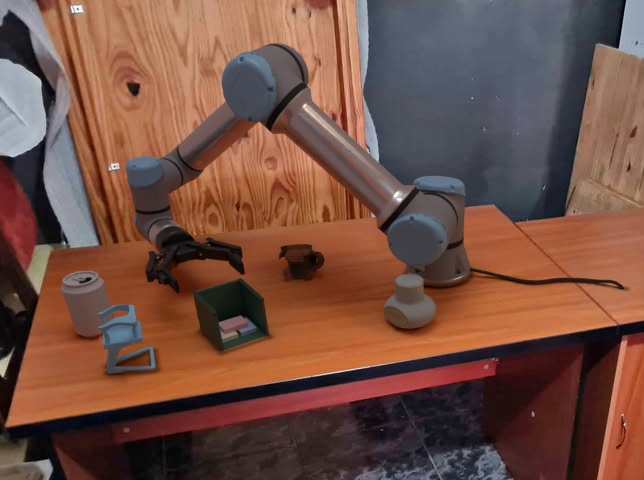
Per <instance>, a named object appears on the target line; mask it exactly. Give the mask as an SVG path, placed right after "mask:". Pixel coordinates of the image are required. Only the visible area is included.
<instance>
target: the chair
mask: <svg viewBox="0 0 644 480" xmlns="http://www.w3.org/2000/svg"><path fill="white" fill-rule="evenodd" d="M118 311H124V312H128V314H126V315H121V316H117V317H116V316H115V318H114V319H112V320H110V321H109V322H108V321H107V319H106V318H105V317H106V316H107V315H108V314H110V313H112V312H113V313H114V312H118ZM98 315H99V316H100V317H101V319H102V320H103V322H104V325H102V326H100V327H98V329H99V330H100V331H101V332H102V333H103V334H102V346H103V349H104V350H107V355H106V374H108V375H110V374H111V375H112V374H124V372H132V371H134V372H137V371H153V370H155V369H156V368H157V366H156V359H155V352H154V347H153V346H147V347H143V348H141V349H138V350H135V351H132V352H130V353H127V354H124V355H121V356H119V353H120V352H121V350H123V349H124V348H126V347H129V346H131V345H135V344H142V343H144V338H143V329H142V327H143V326H142V323H141V321H140V320H137V316H136V315H137V314H136V306H135V305H133V304H125V303H123V304H114V305H111V307H110V308H108V309H106V310H105V311H103V312H100V313H98ZM146 352H149V357H150V365H123V366H122V365H121V366H120V365H119V366H117V365H118V363H120V362H123V361H125V360H128V359H130V358H133V357H136V356H139V355H141V354H144V353H146Z"/></svg>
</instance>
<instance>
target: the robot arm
mask: <svg viewBox="0 0 644 480" xmlns="http://www.w3.org/2000/svg"><path fill="white" fill-rule="evenodd" d="M309 74H310V73H309V68H308V65H307V62H306V61H305V59H304V57H303V55H301V53H300V52H299V51H297V50H296V49H295V48H294V47H292V46H290V45H288V44H285V43H279V42H273V43H268V44H265V45H263V46H261V47H258V48H255V49H253V50H250V51H249V50H248V51H244V52H241V53H239V54H238V55H237V56H235V57H233V58H232V59H231V60H230V61H228V62H227V64H226V65H225V67H224V69H223V71H222V75H221V88H222V95H223V98H224V100H225V101H224V102H223V103H222V104H220V105H219V107H218V108H216V109H215V110H214V112H212V113H211V114H210V115H209V116H208V117H207V118H205V120H204V121H202V122H201V123H200V124H199V125H198V126H197V127H195V129H193V130H192V132H191V133H190V134H188V135H187V136H186V137H185V138H184V139H183V140H182V141H181V142H180V143H179V144H178V145H177V146H175V147H174V148H173V149H172V150H171V151H170V152H169V153H167V154H165V155H164V156H162V157H161V158H158V157H155V156H151V155H143V156H138V157H132V158H131V159H128V161H127V160H126V163H125V167H124V168H125V172H126V179H127V180H126V182H127V184H128V187H129V190H130V194H131V199H132V202H133V206H134V209H135V215H134V218H133V224H134V226H135V228H136V230H137V232H138V234H140V236H141V237H142V238H144V240H146V241H147V242H148V243H149V244H150V245H151V246H152V247H153V248H154V249H155V250H156V251H157V252H155V250H150V251H148V252H147V253H148V257H149V258H148V261H147V264H146V266H145V270H144V273H145V277H146V281H147V282H148V283H153V282H154V281H156V280H157V282H158V285H163V286H169V287H170V288H171V290H173V292H174V293H176V294H180V293H181V288H180V285H179V281H178V279H177V278H176V277H175V276H174V275H173V274H172V273H171V272H172V271H173V270H174V268H175V269H176V268H178V266H179V265H180V264H182V263H187V262H189V261H194V260H196V261H206V260H213V261H214V260H215V261H223V262H228V265H229V266H231V267H232V268H233V269H234V270H235V271H236V272H237V273H239V275H241V276H243V275H246V271H245V265H244V261H242V259H243V258H244V257H243V249H242V246H241V245H236V244H232V243H228V242H225V241H221V240H217V239H214V238H212V237H206V238H205V241H204V242H200V241H197V240H196V239H195V238H194V236H193V235H192V234H190V232H188V231H187V230H186V229H185V228H184V227H183V226H181V224H179V223H178V221H176V220H175V219H174V215H173V211H172V205H171V201H170V196H169V195H170V194H172V193H173V192H175V191H177V190H179V189H180V188H181V187H183V186H185V185H187V184H189V183H190V182H193V181H195V180H196V179H198V178H199V177H200V176H201V175H202V174H203V172H204V171H205V169H206V168H207V167H208V166H210V165H211V164H212V163H213V162H214V161H215V160H216V159H218V158H219V157H220V156H222V155H223V154H224V153H225V152H226V151H227V150H229V149H230V147H232V146H233V145H234V144H235V143H236V142H237V141H239V140H240V139H241V138H242V137H243V136H245V135H246V134H247V133H248V132H250V130H251V129H253V128H254V127H255V126H257V124H258V123H260V124H261V125H262V126H263V127H264V128H265V129H266V130H268V131H269V133H271V134H272V135H284V136H286V137H287V138H288V140H290V141H291V142H292V143H293V144H295V145H296V146H297V147H298V148H299V149H300V150H301V151H303V152H304V153H305V155H307V156H308V157H309V158H310V159H312V160H313V161H314V162H315V163H316V164H317V165H318V166H319V167H320V168H322V169H323V170H324V171H325V173H327V174H328V175H329V176H330V177H331V178H332V179H333V180H335V181H336V182H337V183H338V184H339V185H340V186H342V188H344V189H345V190H346V191H347V192H348V193H349V194H350V195H351V196H353V197H354V198H355V199H356V200H357V201H358V202H359V203H360V204H361V205H362V206H363V207H364V208H366V209H367V210H368V211H369V212H370V214H372V215H373V216H375V219H376V228H377V229H378V230H379V231H380V232H381V233H382V234H384V235H385V236H386V241H387V243H388V248H389V251H390V252H391V254H392V255H393V256H394V257H395V258H396V259H397V260H398V261H400V262H401V263H403V264H405V265H406V274H416V275H419V276H421V277H422V278H423V280H424V287H428V288H429V287H430V288H449V287H454V286H457V285H461V284H463V283H464V282H466V281H467V280H468V279H469V278H470V276H471V272H473V273H478V274H481V275H487V276H491V277H495V278H500V279H503V280H504V279H505V280H507V281H508V280H509V281H513V282H517V283H524V284H546V283H547V284H548V283H555V282H588V283H595V284H612V285H615V286H617V287H618V288H619V289H620V290H625V287H624V286H623V284H621V283H620V282H619V281H616V280H613V279H596V278H587V277H553V278H546V279H525V278H518V277H515V276H510V275H505V274H501V273H496V272H492V271H489V270H483V269H478V268H473V267H471V262H470V259H469V257H468V253H467V250H466V247H465V243H464V240H465V212H466V211H465V210H466V196H467V193H466V185H465V183H464V182H463V181H462V180H460V179H458V178H456V177H451V176H443V175H425V176H420V177H416V179H415V178H414V180H413V183H412V185H411V184H407V185H404V184H402V182H400V181H399V180H398V179H397V178H396V177H395V176H393V174H392V173H391V172H389V170H388V169H386V168H385V167H384V165H382V164H381V163H380V162H379V161H378V160H376V159H375V158H374V156H372V155H371V154H370V152H368V151H367V150H366V149H365V148H364V147H362V146H361V144H360V143H359V142H357V140H355V139H354V138H353V137H352V136H351V135H350V134H348V133H347V131H346V130H344V129H343V128H342V127H341V126H340V125H339V123H337V122H336V121H335V120H333V118H332V117H330V116H329V115H328V114H327V113H326V112H325V110H323V109H322V108H321V107H319V106H318V105H317V103H315V102H314V101H313V98H312V89H311V88H310V87H309V86H308V85H309V79H310V76H309Z"/></svg>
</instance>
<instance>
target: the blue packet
mask: <svg viewBox="0 0 644 480" xmlns="http://www.w3.org/2000/svg"><path fill="white" fill-rule="evenodd" d="M244 319H245V320H246V321H247V322H248V327H245V328H242V329H239V330H236V331H237V332H238V333H239V334H240V335H241V336H245V335H248V334H251V333H254V332H257V327H256V326H255V325H254V324H253V323H252V322H251V321H250V320H249V319H247V318H244Z"/></svg>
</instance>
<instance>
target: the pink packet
mask: <svg viewBox="0 0 644 480" xmlns="http://www.w3.org/2000/svg"><path fill="white" fill-rule="evenodd" d="M219 327H220V330H221V331H222V332H223V333H224V334H227V333H230V332H233V331H236V330H239V329H242V328H245V327H248V322H247V321H246V320H245V319H244V318H243V317H242V316H237V317H234V318H231V319H228V320H225V321H222V322H219Z"/></svg>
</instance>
